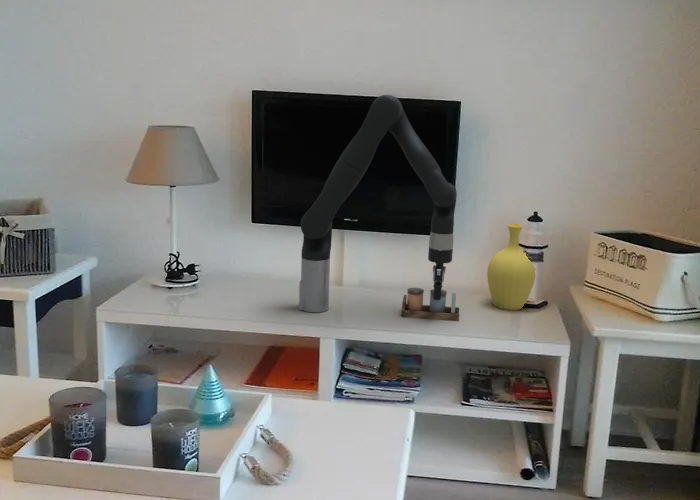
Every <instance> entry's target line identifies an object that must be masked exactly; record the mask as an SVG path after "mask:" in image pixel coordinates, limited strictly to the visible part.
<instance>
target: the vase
mask: <svg viewBox="0 0 700 500" xmlns="http://www.w3.org/2000/svg"><path fill="white" fill-rule="evenodd" d="M523 227H524V226H523V225H522V224H517V223H509V224H507V228H508V231H509V232H508V233H509V242H508V245H507V246H505V247H504V248H503V249H500V251H498V252H496V253H495V254H494V255H493V256H492V257H491V259H490V260H489V263H488V266H487V273H486V274H487V275H486V276H487V284H488V289H489V293H490V297H491V300H492V304H493V306H495V307H496V308H498V307H499V308H498V309H502V310H510V311H511V310H512V311H515V310H516V311H517V310H522V309H523V308H522V307H523V306H524V304H525V303H527V302H528V300H527V299H529V297H530V295H531V292H532V290H531V289H533V286H534V282H535V280H536V274H535V270H536V267H535V268H534V266H533V264H532V262H531V261H530V260H529V259H528V257H527V256H526V255H525V254H524V253H523V251H524V250H523V249H522V248H520V244H519V243H520V242H519V236H520V233H521V231H522V228H523ZM522 250H523V251H522ZM529 294H530V295H529ZM526 301H527V302H526ZM525 305H526V304H525ZM524 307H525V306H524ZM521 308H522V309H521Z"/></svg>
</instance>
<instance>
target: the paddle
mask: <svg viewBox="0 0 700 500" xmlns="http://www.w3.org/2000/svg"><path fill="white" fill-rule="evenodd" d="M456 300H457V293H456V292H452V293H451V301H450V302H451V303H450V307H451V314H455V307H456V303H457V302H456Z"/></svg>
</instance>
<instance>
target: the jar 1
mask: <svg viewBox="0 0 700 500" xmlns="http://www.w3.org/2000/svg"><path fill="white" fill-rule="evenodd" d="M424 292H425V290H424V289H423V288H420V287H408V288H407V292H406V293H407V294H406V295H407V298H406V304H407V310H409V311H422V308H423V305H424Z"/></svg>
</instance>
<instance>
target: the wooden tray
mask: <svg viewBox="0 0 700 500" xmlns="http://www.w3.org/2000/svg"><path fill="white" fill-rule="evenodd" d="M407 295H408V294H404V295H403V296H402V297H403V299H402V303H401V317H402V318H409V319H410V318H411V319H412V318H413V319H424V320H437V321H438V320H440V321H452V322H453V321H454V322H459V321H460V307H459V306H455V314H451V306H446V305H445V313H437V312H429V307H430V304H429V305H428V304H423V308H422V311H409V310H407Z"/></svg>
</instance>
